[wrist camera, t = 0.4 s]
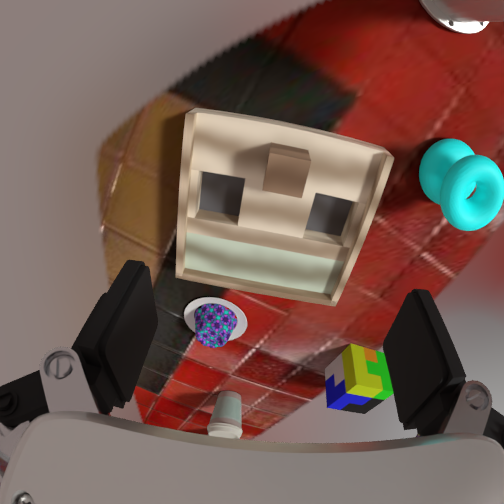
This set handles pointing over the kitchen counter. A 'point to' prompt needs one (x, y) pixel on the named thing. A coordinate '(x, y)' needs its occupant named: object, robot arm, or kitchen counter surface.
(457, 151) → the donuts
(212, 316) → the pudding
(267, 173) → the walnut block
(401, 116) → the kitchen counter surface
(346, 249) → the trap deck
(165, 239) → the kitchen counter surface
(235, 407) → the coffee cup
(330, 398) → the puzzle toy
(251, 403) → the kitchen counter surface
